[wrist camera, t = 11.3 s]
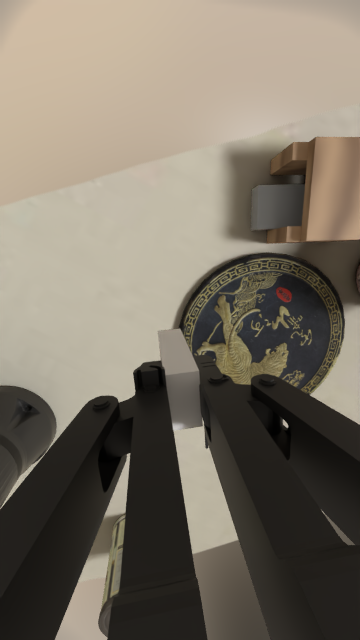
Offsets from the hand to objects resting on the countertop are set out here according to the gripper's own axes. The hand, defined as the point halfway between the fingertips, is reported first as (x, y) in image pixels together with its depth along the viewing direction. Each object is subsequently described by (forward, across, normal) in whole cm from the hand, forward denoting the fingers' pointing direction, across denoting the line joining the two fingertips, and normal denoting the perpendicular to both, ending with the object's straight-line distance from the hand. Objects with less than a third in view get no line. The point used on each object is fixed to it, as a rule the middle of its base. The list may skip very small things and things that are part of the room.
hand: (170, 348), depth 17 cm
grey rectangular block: (+25, +21, +12) cm, 35 cm away
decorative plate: (+26, +18, -10) cm, 33 cm away
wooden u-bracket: (+25, +24, +12) cm, 36 cm away
